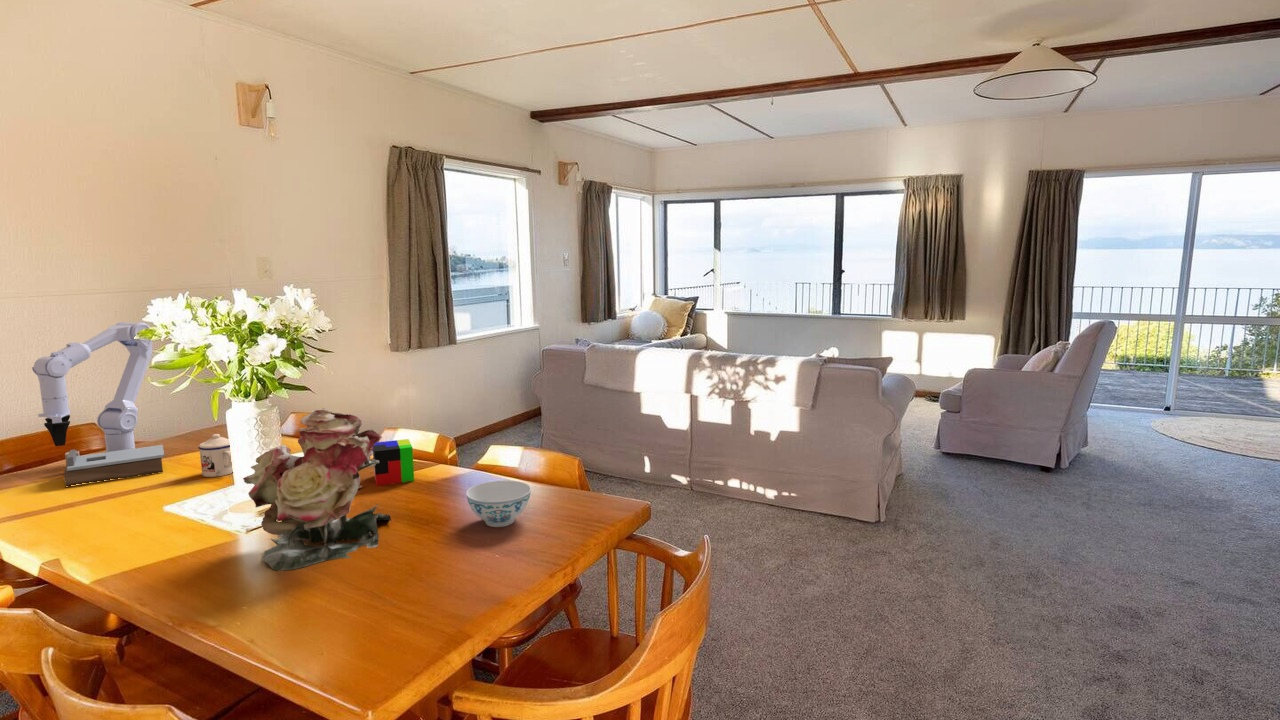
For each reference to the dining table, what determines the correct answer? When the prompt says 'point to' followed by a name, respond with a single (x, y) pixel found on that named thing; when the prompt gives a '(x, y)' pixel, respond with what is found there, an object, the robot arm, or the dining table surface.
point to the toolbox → (112, 471)
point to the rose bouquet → (316, 492)
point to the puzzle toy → (393, 462)
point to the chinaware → (498, 501)
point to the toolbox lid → (113, 457)
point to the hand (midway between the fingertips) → (60, 443)
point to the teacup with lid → (215, 457)
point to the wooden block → (68, 453)
